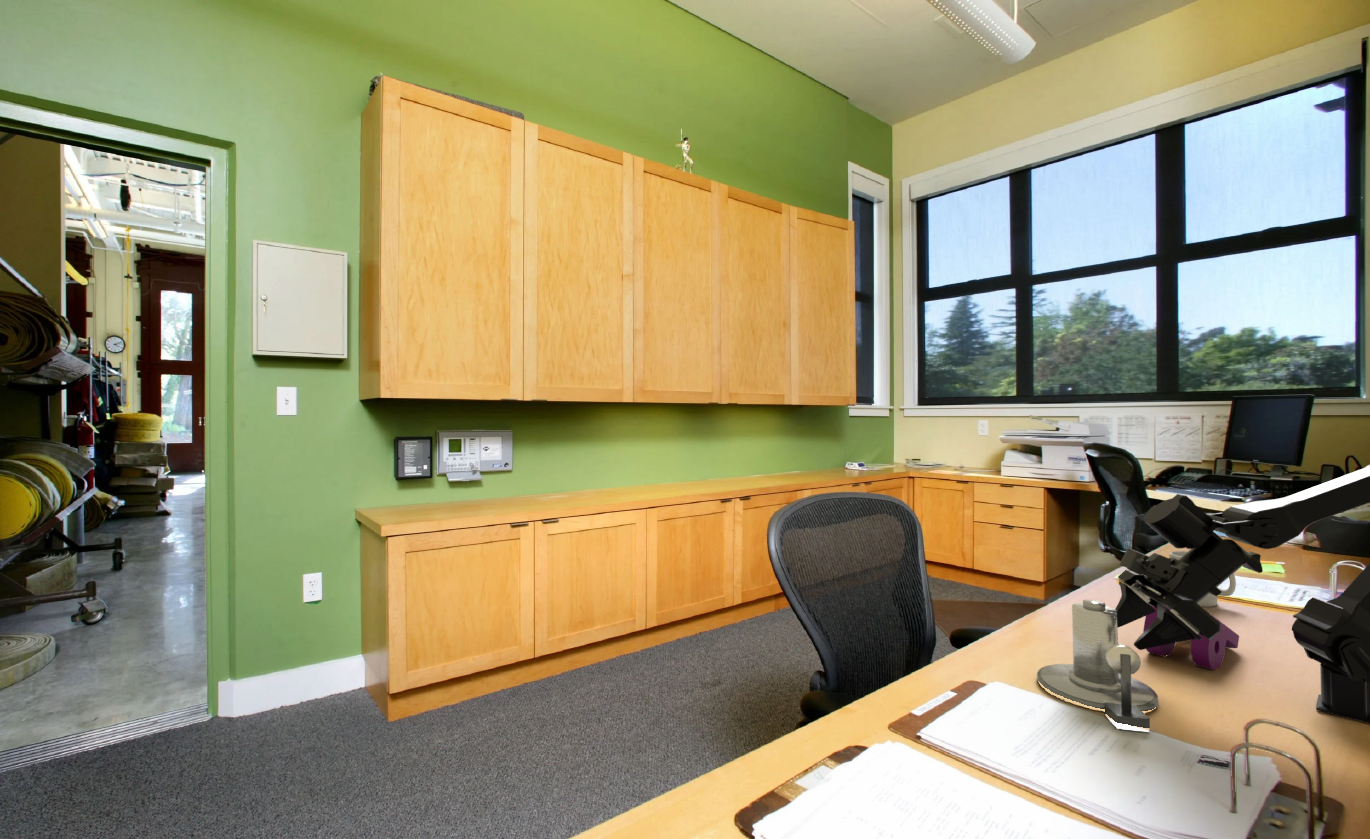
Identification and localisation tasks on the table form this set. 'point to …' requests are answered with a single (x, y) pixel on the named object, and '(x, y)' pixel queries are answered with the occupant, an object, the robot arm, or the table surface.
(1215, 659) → the mounting bracket
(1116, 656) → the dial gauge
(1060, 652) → the table surface
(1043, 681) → the disc
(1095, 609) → the silver metal cylinder
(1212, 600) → the mug
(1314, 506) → the robot arm
